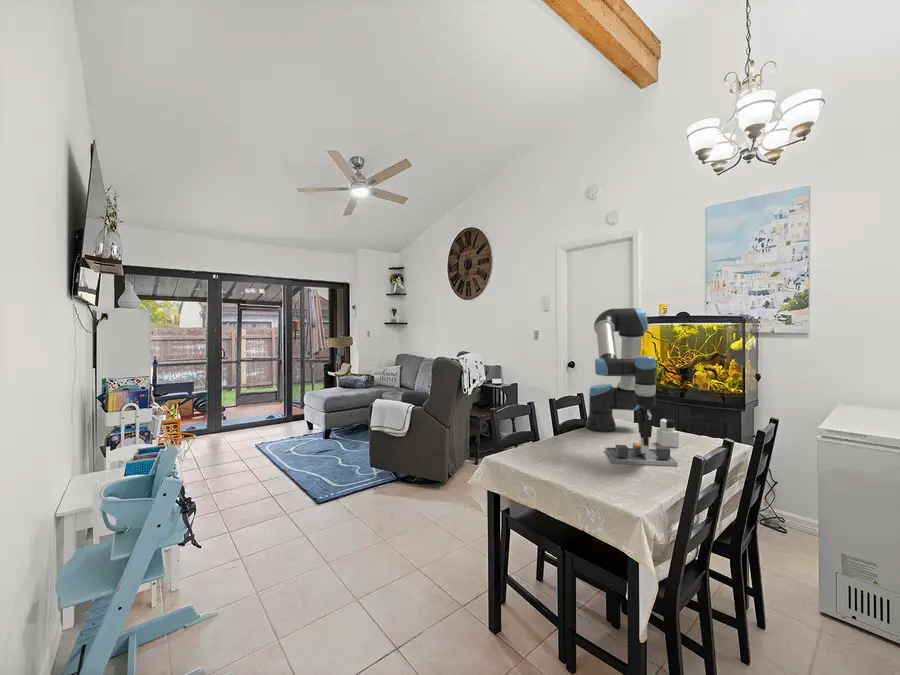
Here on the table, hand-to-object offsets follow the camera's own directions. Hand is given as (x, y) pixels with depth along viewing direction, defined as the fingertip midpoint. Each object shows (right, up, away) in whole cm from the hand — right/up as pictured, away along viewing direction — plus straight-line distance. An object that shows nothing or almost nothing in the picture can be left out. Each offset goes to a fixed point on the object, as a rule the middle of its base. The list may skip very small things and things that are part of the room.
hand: (644, 452), depth 164 cm
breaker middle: (+1, -2, +7) cm, 8 cm away
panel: (+1, -4, +7) cm, 9 cm away
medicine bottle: (+22, -4, +24) cm, 33 cm away
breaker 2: (+9, -2, +2) cm, 9 cm away
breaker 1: (-7, -3, +5) cm, 9 cm away
